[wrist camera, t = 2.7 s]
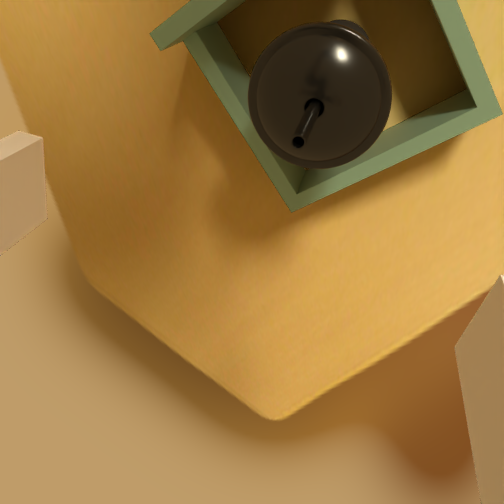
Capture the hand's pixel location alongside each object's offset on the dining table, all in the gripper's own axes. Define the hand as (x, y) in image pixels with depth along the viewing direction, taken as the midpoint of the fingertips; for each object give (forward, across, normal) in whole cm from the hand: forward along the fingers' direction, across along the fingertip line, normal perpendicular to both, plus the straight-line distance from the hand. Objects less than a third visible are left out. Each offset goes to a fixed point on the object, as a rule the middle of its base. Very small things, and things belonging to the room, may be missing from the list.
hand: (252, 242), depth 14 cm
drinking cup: (+28, 0, 0) cm, 28 cm away
